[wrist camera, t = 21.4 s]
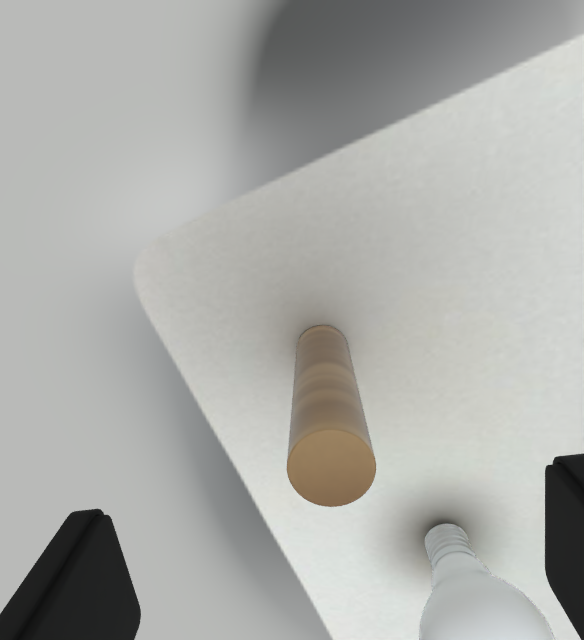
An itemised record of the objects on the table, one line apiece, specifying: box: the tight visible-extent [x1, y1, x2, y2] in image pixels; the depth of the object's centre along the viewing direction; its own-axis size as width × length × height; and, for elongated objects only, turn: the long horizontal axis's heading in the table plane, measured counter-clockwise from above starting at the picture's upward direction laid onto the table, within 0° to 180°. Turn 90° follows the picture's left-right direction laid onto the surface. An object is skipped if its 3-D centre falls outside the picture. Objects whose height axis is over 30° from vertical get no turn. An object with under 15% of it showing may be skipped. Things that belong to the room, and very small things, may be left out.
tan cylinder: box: [287, 325, 376, 507], centre depth 22 cm, size 3×3×12 cm
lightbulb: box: [419, 524, 556, 640], centre depth 25 cm, size 6×6×11 cm
